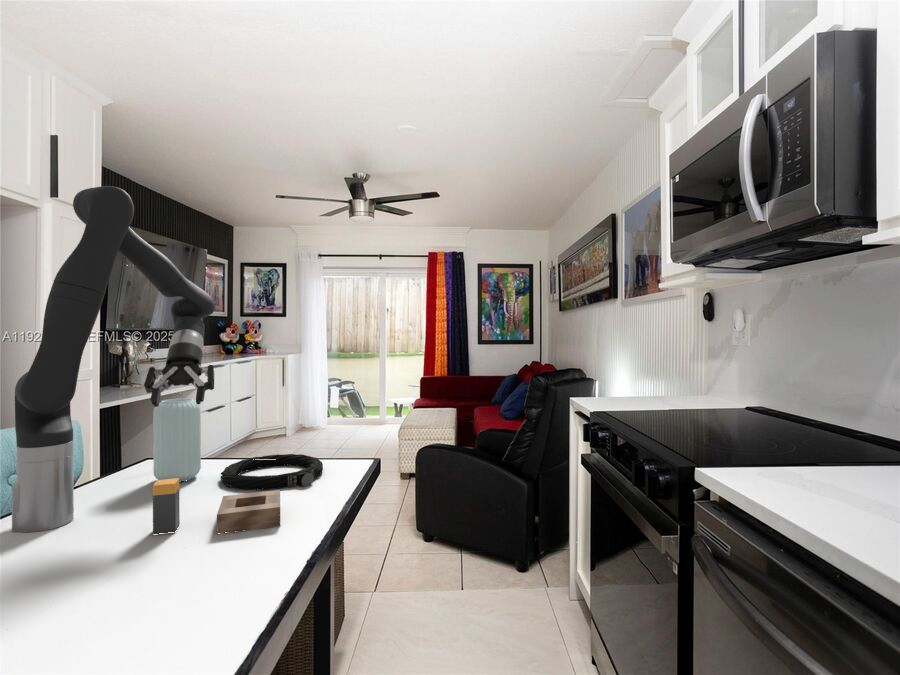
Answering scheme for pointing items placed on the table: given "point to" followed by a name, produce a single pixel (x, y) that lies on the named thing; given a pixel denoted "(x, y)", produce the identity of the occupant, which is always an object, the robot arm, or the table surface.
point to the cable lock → (272, 481)
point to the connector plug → (166, 506)
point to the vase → (177, 439)
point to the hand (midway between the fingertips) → (177, 403)
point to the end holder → (249, 511)
